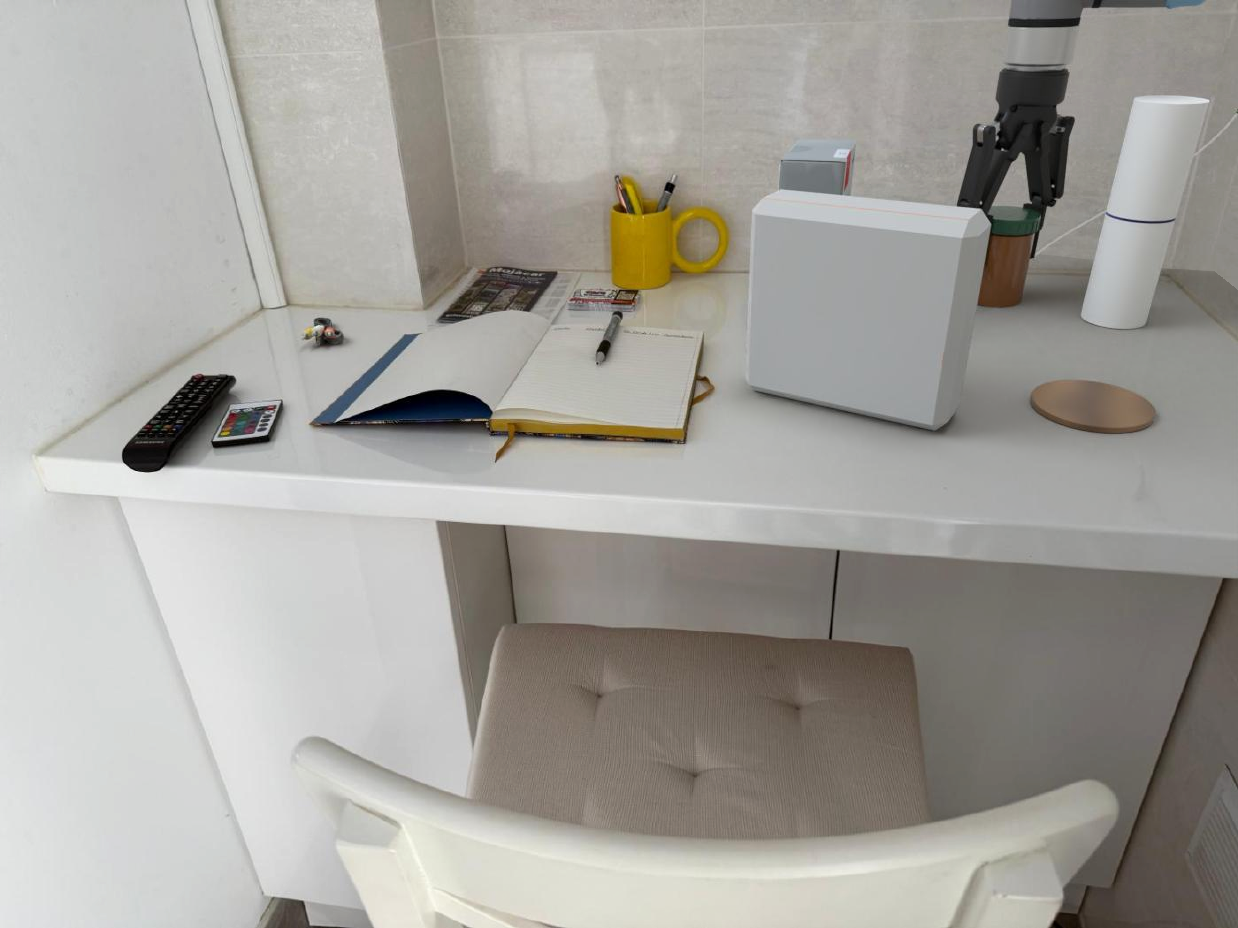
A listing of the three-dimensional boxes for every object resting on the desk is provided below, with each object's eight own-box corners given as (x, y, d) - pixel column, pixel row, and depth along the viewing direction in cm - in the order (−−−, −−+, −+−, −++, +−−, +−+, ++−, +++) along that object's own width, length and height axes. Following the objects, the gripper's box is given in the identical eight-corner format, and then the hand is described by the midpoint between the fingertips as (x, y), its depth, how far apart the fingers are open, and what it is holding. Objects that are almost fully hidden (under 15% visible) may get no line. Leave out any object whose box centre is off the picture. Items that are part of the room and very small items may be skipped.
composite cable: (314, 324, 115) (310, 306, 114) (351, 321, 116) (347, 303, 115) (302, 352, 107) (298, 333, 106) (343, 348, 107) (339, 329, 106)
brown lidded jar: (1019, 291, 117) (1035, 212, 112) (1023, 309, 111) (1039, 226, 106) (964, 288, 119) (977, 210, 114) (964, 305, 113) (978, 223, 108)
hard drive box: (830, 330, 107) (845, 161, 97) (767, 325, 109) (776, 159, 99) (842, 291, 120) (857, 137, 110) (786, 287, 122) (795, 136, 112)
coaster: (1143, 390, 90) (1144, 385, 89) (1164, 439, 80) (1166, 433, 80) (1026, 380, 93) (1027, 374, 92) (1034, 425, 84) (1035, 420, 83)
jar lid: (1006, 217, 115) (1008, 203, 114) (1052, 230, 109) (1055, 215, 108) (960, 224, 112) (962, 210, 112) (1004, 238, 106) (1007, 223, 105)
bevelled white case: (964, 406, 88) (1000, 204, 78) (941, 439, 82) (977, 225, 72) (771, 366, 98) (781, 183, 88) (738, 393, 92) (746, 200, 82)
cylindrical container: (1078, 323, 106) (1133, 102, 94) (1082, 305, 112) (1134, 94, 99) (1145, 332, 103) (1211, 105, 91) (1146, 313, 109) (1208, 96, 96)
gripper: (1074, 58, 108) (1037, 242, 119) (942, 70, 101) (915, 264, 112) (1127, 63, 102) (1082, 256, 113) (990, 76, 95) (957, 280, 106)
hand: (999, 260), depth 113 cm, fingers closed on jar lid, 8 cm apart
